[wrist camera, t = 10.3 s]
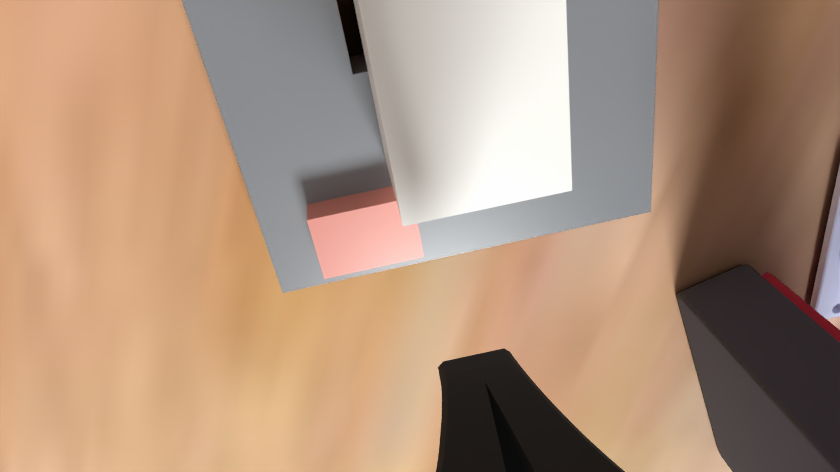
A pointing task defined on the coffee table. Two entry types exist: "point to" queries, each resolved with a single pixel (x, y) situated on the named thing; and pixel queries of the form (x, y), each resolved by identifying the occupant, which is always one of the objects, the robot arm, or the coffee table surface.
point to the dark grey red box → (765, 372)
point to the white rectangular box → (469, 101)
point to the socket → (363, 150)
